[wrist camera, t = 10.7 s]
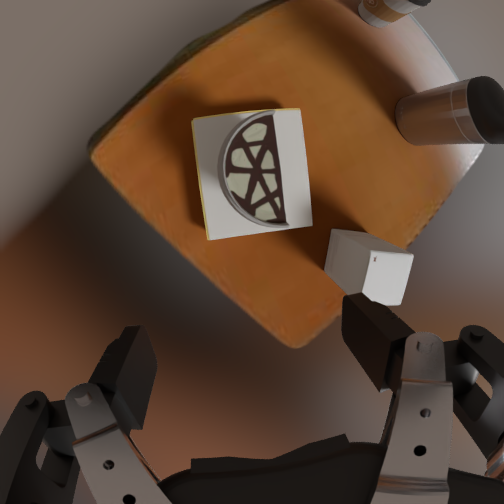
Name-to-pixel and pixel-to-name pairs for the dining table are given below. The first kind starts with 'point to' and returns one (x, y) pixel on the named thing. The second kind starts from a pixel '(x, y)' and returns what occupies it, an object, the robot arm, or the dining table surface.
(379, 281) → the supplement box
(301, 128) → the white flat block
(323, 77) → the dining table surface
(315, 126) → the dining table surface
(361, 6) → the coffee cup
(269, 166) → the food container
